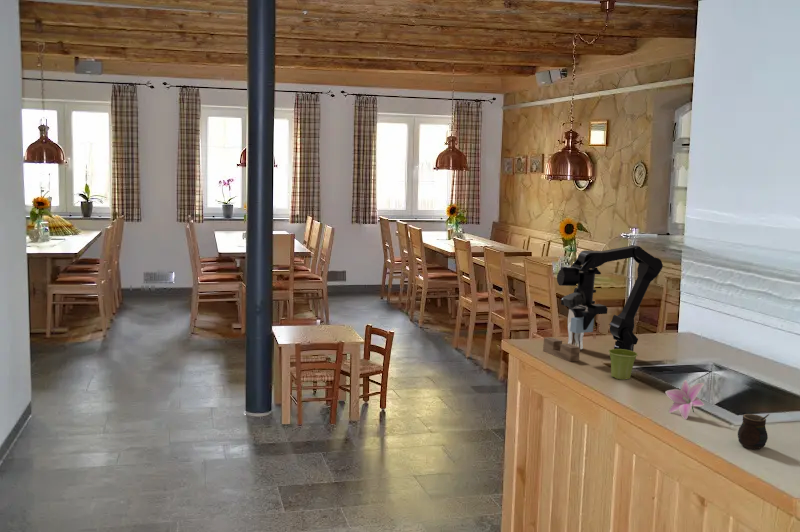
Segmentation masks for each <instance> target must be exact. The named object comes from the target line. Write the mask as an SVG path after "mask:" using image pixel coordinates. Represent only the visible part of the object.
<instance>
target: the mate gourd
mask: <svg viewBox="0 0 800 532" xmlns="http://www.w3.org/2000/svg"><path fill="white" fill-rule="evenodd" d="M768 416H770V414H769V413H768V414H767V415H765V416H761V415H758V414H754V413H745V414H743V416H742V423H741V424H740V426H739V428H738V430H737V438H738V442H739V443H740V445H741V446H742V447H744V448H746V449H749V450H753V451H755V450H760V449H762V448H764V447H765V446H766V443H767V441H768V438H769V437H768V431H767V429H766V424H767V418H768Z"/></svg>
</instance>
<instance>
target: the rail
mask: <svg viewBox="0 0 800 532" xmlns="http://www.w3.org/2000/svg"><path fill="white" fill-rule="evenodd" d="M542 347H543V348H542V351H543V352H545V353H547V354H549V355H553V356H555V357H558V358H560V359H562V360H565V361H567V362H569V363H570V362H579V361H580V351H581V350H580V347H578V346H575V345H572V344H570V343H569V344H568V343H563V340H561V339H559V338H555V337H554V336H552V337H549V336H548V337H543V345H542Z"/></svg>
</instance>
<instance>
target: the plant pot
mask: <svg viewBox="0 0 800 532" xmlns="http://www.w3.org/2000/svg"><path fill="white" fill-rule="evenodd" d="M608 353H609V357H610V372H611V373H610V374H611V375H610V376H611V377H612V378H615V379H616V380H621V381H623V380H626V379H627V380H629V379H631V375H632V372H633V367H634V364H635V363H634V362H635V361H636V359H637V356H638V355H639V354H638V352H636V351H634V350H633V351H630V350H625V349H614V348H611V349H609V350H608Z"/></svg>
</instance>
